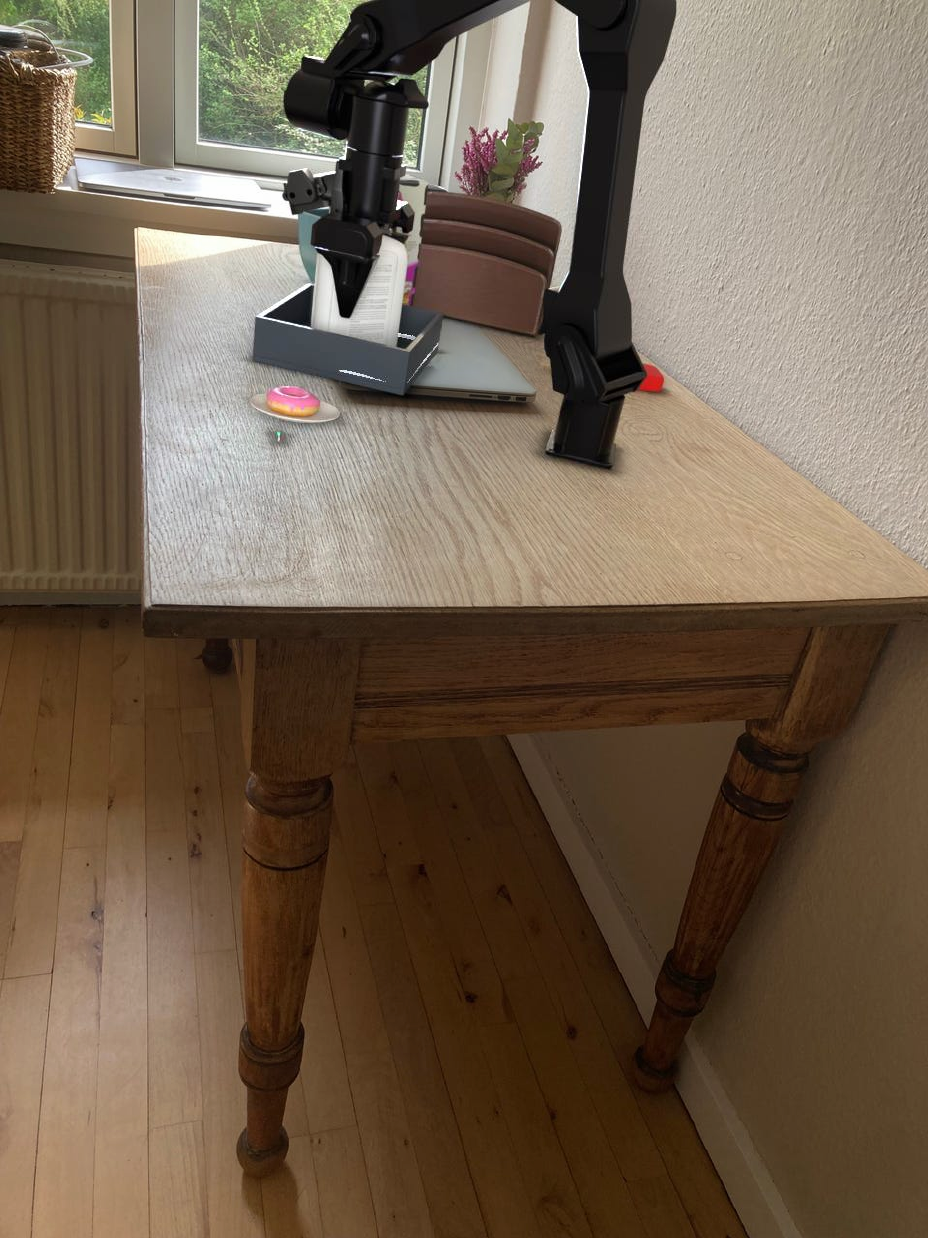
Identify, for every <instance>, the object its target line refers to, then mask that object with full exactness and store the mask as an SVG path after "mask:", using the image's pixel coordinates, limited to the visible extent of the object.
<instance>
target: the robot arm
mask: <svg viewBox="0 0 928 1238" xmlns="http://www.w3.org/2000/svg"><path fill="white" fill-rule="evenodd" d="M531 1H532V0H368V1H363V2H361V3H359V4H357V6H355V7H354V8H353V9H352V10H351V12H350V14H349V17H348V19H349V22H348V23H347V27H346V28H345V29H344V31H343V33H342V34H341V36H340V37H339V39H338V40H337V41H336V43H335V45H334V46H333V47H332V49H331V51H330V52H329V54H328V55H327V56H326V59H323V58H321V57H315V56H308V55H302V57H301V59H300V60H301V61H300V68H299V69H298V70H297V71H295V72H294V73H293V75H292V76H291V77H290V79H289V81H288V83H287V84H286V89H285V90H284V91H283V98H282V99H283V102H282V104H283V111H284V114H285V116H286V120H287V121H288V122H289V124H290V125H291V126H292V127H294V128H296V129H298V130H301V131H305V132H308V133H312V134H315V135H319V136H321V137H326V138H329V139H332V140H337V141H344V140H345V141H346V144H345V154H344V156H341V157H339V159H337V160H336V162H335V170H332V171H333V172H332V171H328V172H323V173H316V174H313V173H312V171H311V170H310V169H309V168H307V167H305V168H302V169H296V170H291V171H289V172H288V176H287V181H285V182H283V192H282V195H281V197H282V199H283V200H284V201H285V202H288V204H289V209H290V212H291V215H292V216H296V215H297V216H298V214H302V213H303V212H304V211H307V210H313V209H325V208H329V206H330V213H329V214H327V215H325V216H323V217H321V218H320V219H319V220H317V221H316V222H315V223H314V224H312V232H311V243H310V245H312V246H314V247H315V249H316V251H317V253H318V254H321V255H322V256H323V257H324V258H325V259H326V260H327V262H328V263H329V264H330V266H331V269H332V273H333V278H334V284H335V290H336V296H337V303H338V309H339V315H340V316H341V317H343V318H348V319H349V318H350V317H351V316H352V314H353V312H354V310H355V308H356V306H357V304H358V302H359V299H360V297H361V295H362V293H363V291H364V289H365V287H366V285H367V283H368V280H369V278H370V276H371V274H372V272H373V270H374V268H375V266H376V264H377V262H378V260H379V257H380V255H377V254H378V253H379V250H380V247H381V244H382V236H383V235H385V236H388V237H390V238H393V239H395V240H397V241H399V242H401V243H402V244H404V243H405V242H406V240H407V239H408V237H409V235H407V234H408V233H409V232H411V231H412V230H413V224H414V217H415V212H414V211H413V209H412V208H411V206H410V204H409V203H408V202H403V201H399V200H398V193H399V185H400V178H401V177H403V176H405V174H407V164H403V161H404V160H403V159H404V154H405V153H404V152H405V145H406V136H407V129H408V120H409V113H410V109H414V110H415V109H416V110H417V109H418V110H427V109H428V108H429V106H430V103H429V101H428V100H427V98H426V96H425V95H424V94H423V92H422V91H421V90H420V88H419V86H418V83H417V81H416V79H413V78H408V77H411V76H414V75H416V74H417V73H418V72H420V71H421V70H423V69H424V68H426V67H427V66H428V65H429V64H430V63H432V62H433V61H435V60H436V59H437V58H438V57H439V56H440V54H441V53H442V51H443V50H444V48H445V46H446V45H447V44H448V43H450V42H451V41H452V40H454V39H455V38H457V37H458V36H460V35H463V34H464V33H466V32H468V31H471V30H473V29H475V28H477V27H479V26H481V25H483V24H485V23H487V22H489V21H491V20H494V19H495V18H497V17H500V16H502V15H504V14H506V13H508V12H511V11H512V10H515V9H517V8H519V7H521V6H523V5H525V4H527V3H529V2H531ZM554 1H555V2H556V3H557V4H558V5H560V6H561V7H563V8H564V9H565V10H567V11H568V12H570V13H572V14H573V15H575V16H576V37H577V38H576V40H577V53H578V57H579V61H580V64H581V68H582V72H583V75H584V79H585V84H586V86H587V102H586V103H587V105H586V113H585V123H584V132H583V141H582V152H581V160H580V170H579V180H578V187H577V188H578V189H577V198H576V208H575V216H574V227H573V236H572V237H573V238H572V246H571V254H570V264H569V267H568V268H569V269H568V271H567V274H566V276H565V277H564V279H563V282H562V283H561V285H559V286H554V287H550V288H547V289H545V292H544V296H543V310H544V312H543V321H542V323H541V325H540V327H539V330H538V332H537V334H538V335H539V336H542V335H544V336H543V349H544V353H545V356H546V357H547V358H548V359H549V362H550V365H551V366H550V375H551V385H552V387H551V388H552V391H553V392H555V393H558V394H560V395H562V400H561V404H560V408H559V412H558V417H557V422H556V426H555V428H554V429H551V432H550V435H549V438H548V441H547V443H546V448H545V451H544V454H545V455H546V456H549V457H553V458H558V459H560V460H561V459H562V460H566V461H571V462H575V463H579V464H583V465H587V466H590V467H591V466H592V467H597V468H601V469H605V470H612V469H613V466H614V460H615V454H616V448H617V444H616V443H615V438H616V434H617V432H618V431H617V430H618V427H619V423H620V419H621V415H622V412H623V407H624V404H625V401H626V396H625V395H627V394H630V393H636V392H638V391H639V390H638V389H639V387H640V386H641V385H642V383H643V382H644V380H645V379H646V377H647V372H646V370H645V368H644V366H643V364H644V363H643V362H642V359H641V357H640V356H639V353H638V351H637V349H636V347H635V345H634V343H633V340H632V339H633V318H632V317H633V315H632V314H633V312H632V311H633V310H632V309H633V308H632V301H631V297H630V293H629V289H628V287H627V283H626V278H625V275H624V264H625V258H626V257H625V255H626V249H627V241H628V233H629V227H630V226H629V225H630V217H631V209H632V203H633V202H632V201H633V194H634V185H635V179H636V171H637V170H636V169H637V163H638V162H637V161H638V154H639V147H640V138H641V131H642V123H643V118H644V117H643V116H644V109H645V108H644V107H645V101H646V97H647V95H648V91H649V89H650V87H651V86H652V83H653V82H654V80H655V78H656V75H658V72H659V70H660V69H661V66H662V64H663V62H664V61H665V58H666V54H667V51H668V47H669V43H670V40H671V36H672V33H673V29H674V25H675V22H676V17H677V3H678V2H677V0H554ZM397 77H402V78H399V80H398V81H397V82H396V83H391V81H392V80H394V79H395V78H397ZM403 77H407V78H403ZM367 81H368V83H367V84H365V83H366V82H367ZM397 227H400V228H402V233H399V232H396V229H397ZM403 233H406V234H403Z"/></svg>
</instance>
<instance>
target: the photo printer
mask: <svg viewBox="0 0 928 1238" xmlns="http://www.w3.org/2000/svg"><path fill="white" fill-rule="evenodd" d="M377 255H380V257H379V260H378V262H377V264H376V266H375V268H374V270H373V272H372V274H371V276H370V278H369V280H368V283H367V285H366V287H365V289H364V291H363V293H362V295H361V297H360V299H359V302H358V304H357V306H356V308H355V310H354V312H353V314H352V316H351V317H350V318H349V319H348V318H343V317H341V316H340V315H339V309H338V303H337V296H336V290H335V284H334V278H333V273H332V269H331V266H330V264H329V263H328V262H327V260H326V259H325V258H324V257H323V256H322V255H321V254H318V253H317V262H316V273H315V282H314V283H313V284H314V295H313V306H312V317H311V328H315V329H319V330H323V331H328V332H332V333H336V334H341V335H345V336H350V337H354V338H358V339H363V340H367V341H371V342H376V343H380V344H385V345H389V346H393V347H396V346H397V340H398V332H399V324H400V317H401V309H402V302H403V294H404V287H405V279H406V272H407V264H408V258H407V251H406V248H405V246H404V244H402V243H401V242H399V241H397V240H395V239H393V238H390V237H388V236H385V235H383V236H382V244H381V247H380V250H379V253H378V254H377Z"/></svg>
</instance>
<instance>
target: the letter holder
mask: <svg viewBox="0 0 928 1238" xmlns="http://www.w3.org/2000/svg"><path fill="white" fill-rule="evenodd" d="M562 227H563V226H562V224H561V222H560V221H559V220H557V219H556V218H554V217H553V216H550V215H548V214H544V213H542V212H539V211H537V210H534V209H531V208H528V207H525V206H522V205H519V204H514V203H511V202H507V201H504V200H500V199H495V198H491V197H486V196H481V195H475V194H474V195H473V194H469V193H468V194H467V193H459V192H452V191H448V192H440V191H427V200H426V207H425V214H424V223H423V231H422V238H421V245H420V253H419V262H418V269H417V277H416V285H415V293H414V301H413V307H417V308H421V309H426V310H430V311H435V312H439V313H443V314H444V315H443V318H449V319H453V320H458V321H463V322H467V323H470V324H475V325H480V326H484V327H485V326H486V327H489V328H493V329H497V330H502V331H506V332H507V331H508V332H511V333H516V334H521V335H525V336H529V337H533V338H534V337H536V336H537V334H538V332H539V329H540V327H541V325H542V321H543V312H544V310H543V296H544V292H545V289H547V288H551V285H552V280H553V276H554V271H555V265H556V262H557V261H556V260H557V255H558V252H559V247H560V242H561V237H562V232H563V228H562Z"/></svg>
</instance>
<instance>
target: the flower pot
mask: <svg viewBox="0 0 928 1238" xmlns="http://www.w3.org/2000/svg"><path fill="white" fill-rule="evenodd" d="M328 211H329V207H325V208H319V209H313V210H307V211H304V212H303V213H302V214H297V228H298V229H297V231H298V232H297V233H298V234H297V235H298V249H299V255H300V259H301V263H302V264H303V265H302V266H303V267H304V269H305V272H306V274H307V276H308V278H309V280H310V281H311V282H312V283H315V273H316V262H317V251H316V249H315V247H314V246H312V245H310V243H311V232H312V224H314V223H315V222H316V221H317V220H319V219H320V218H321V217H323V216H325V215H327V214H328Z"/></svg>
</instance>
